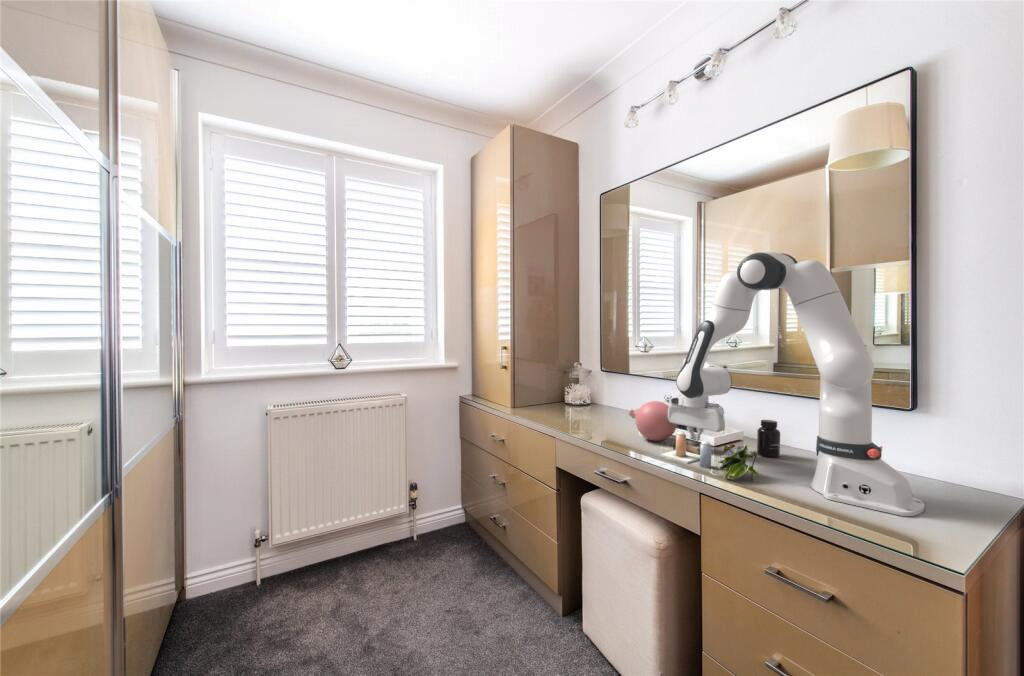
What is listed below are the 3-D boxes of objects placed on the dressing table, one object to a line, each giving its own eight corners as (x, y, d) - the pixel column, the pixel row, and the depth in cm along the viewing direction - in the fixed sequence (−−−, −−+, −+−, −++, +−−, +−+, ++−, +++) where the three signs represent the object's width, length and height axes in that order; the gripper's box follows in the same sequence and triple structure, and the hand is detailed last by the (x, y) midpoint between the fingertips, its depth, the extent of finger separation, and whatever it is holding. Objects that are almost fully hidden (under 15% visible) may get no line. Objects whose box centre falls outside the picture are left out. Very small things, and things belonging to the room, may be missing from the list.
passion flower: (728, 490, 128) (734, 453, 133) (766, 494, 119) (770, 455, 125) (708, 474, 124) (715, 437, 129) (745, 478, 115) (751, 437, 120)
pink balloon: (640, 431, 180) (640, 395, 179) (684, 441, 164) (684, 401, 164) (617, 437, 170) (618, 399, 170) (662, 448, 155) (662, 406, 154)
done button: (701, 450, 151) (701, 442, 151) (695, 452, 149) (695, 443, 148) (691, 448, 154) (691, 440, 153) (686, 449, 151) (686, 441, 151)
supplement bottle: (776, 459, 141) (776, 424, 140) (753, 455, 146) (754, 420, 146) (782, 455, 145) (783, 421, 145) (761, 451, 150) (761, 418, 150)
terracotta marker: (687, 455, 143) (688, 432, 142) (682, 457, 141) (682, 434, 141) (679, 453, 145) (679, 431, 145) (673, 455, 143) (674, 432, 143)
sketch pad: (704, 458, 142) (704, 456, 142) (687, 463, 137) (687, 461, 137) (677, 451, 151) (677, 449, 151) (660, 455, 145) (660, 453, 145)
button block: (710, 451, 150) (710, 444, 150) (697, 455, 145) (697, 448, 145) (689, 446, 157) (689, 440, 157) (677, 450, 152) (677, 443, 152)
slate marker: (713, 466, 133) (713, 442, 133) (707, 468, 132) (707, 443, 131) (703, 464, 136) (703, 440, 136) (697, 466, 134) (698, 441, 134)
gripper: (728, 403, 144) (728, 444, 144) (675, 396, 161) (675, 432, 161) (718, 405, 140) (718, 447, 140) (665, 398, 157) (665, 435, 157)
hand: (695, 439), depth 151 cm, fingers closed
